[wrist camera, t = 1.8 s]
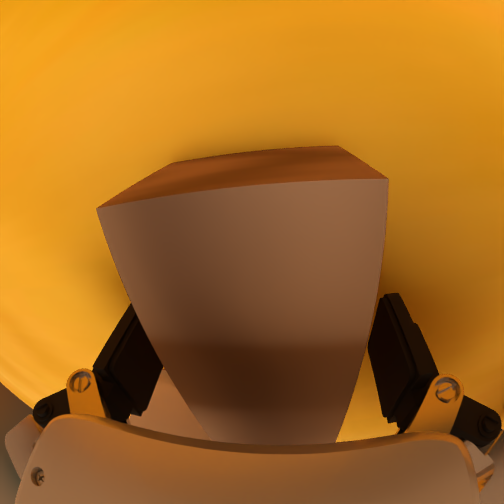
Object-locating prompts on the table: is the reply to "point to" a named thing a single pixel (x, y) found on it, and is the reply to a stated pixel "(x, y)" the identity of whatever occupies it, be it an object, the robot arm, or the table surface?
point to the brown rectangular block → (256, 284)
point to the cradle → (169, 412)
